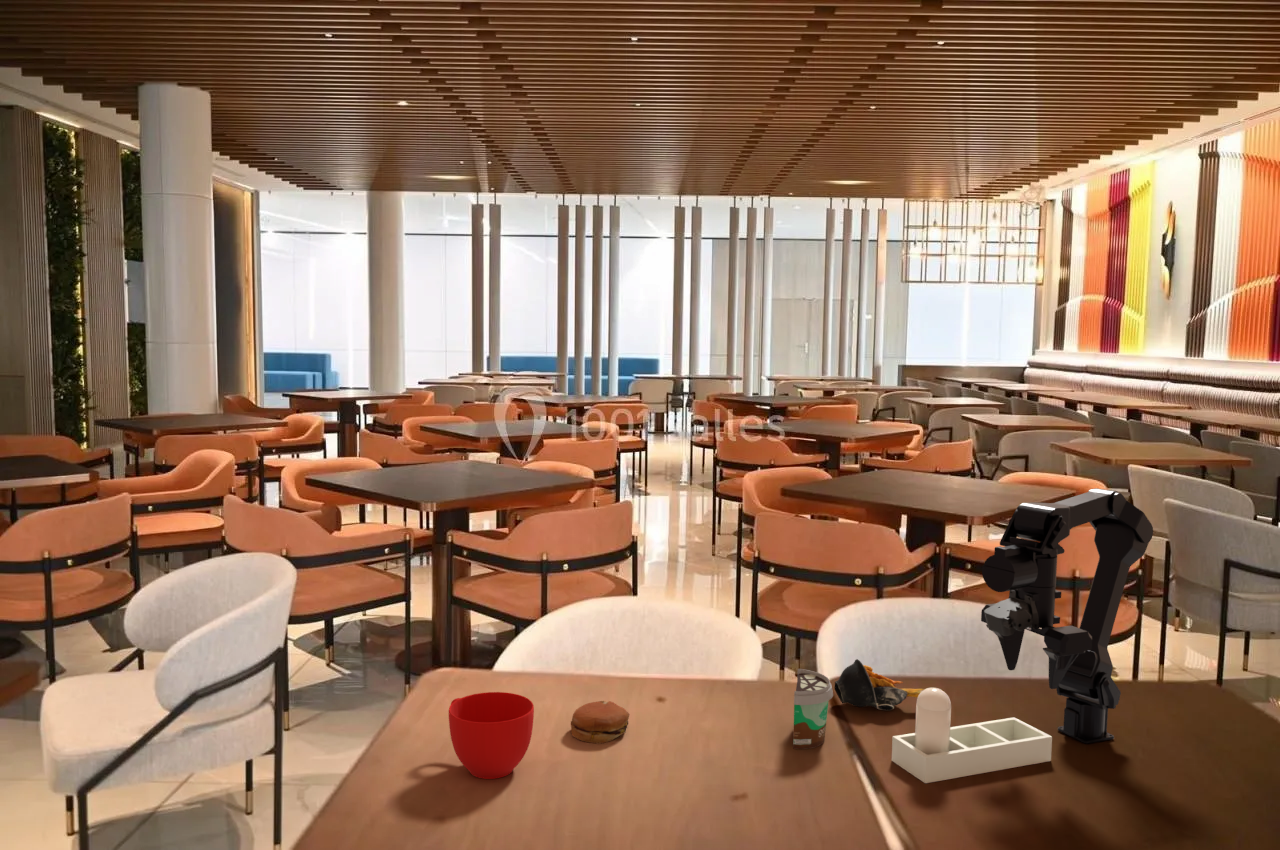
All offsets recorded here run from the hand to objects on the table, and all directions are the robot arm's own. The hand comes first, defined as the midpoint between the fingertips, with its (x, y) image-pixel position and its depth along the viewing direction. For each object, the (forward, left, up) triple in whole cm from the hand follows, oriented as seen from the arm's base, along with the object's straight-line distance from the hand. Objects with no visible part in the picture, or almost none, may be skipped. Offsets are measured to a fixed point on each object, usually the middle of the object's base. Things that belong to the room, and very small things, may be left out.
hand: (1031, 679), depth 161 cm
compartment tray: (+9, -2, -13) cm, 16 cm away
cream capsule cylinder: (+17, -2, -12) cm, 21 cm away
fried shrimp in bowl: (+9, -26, -13) cm, 31 cm away
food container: (+29, -18, -13) cm, 37 cm away
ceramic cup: (+83, -26, -13) cm, 88 cm away
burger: (+62, -33, -13) cm, 71 cm away
